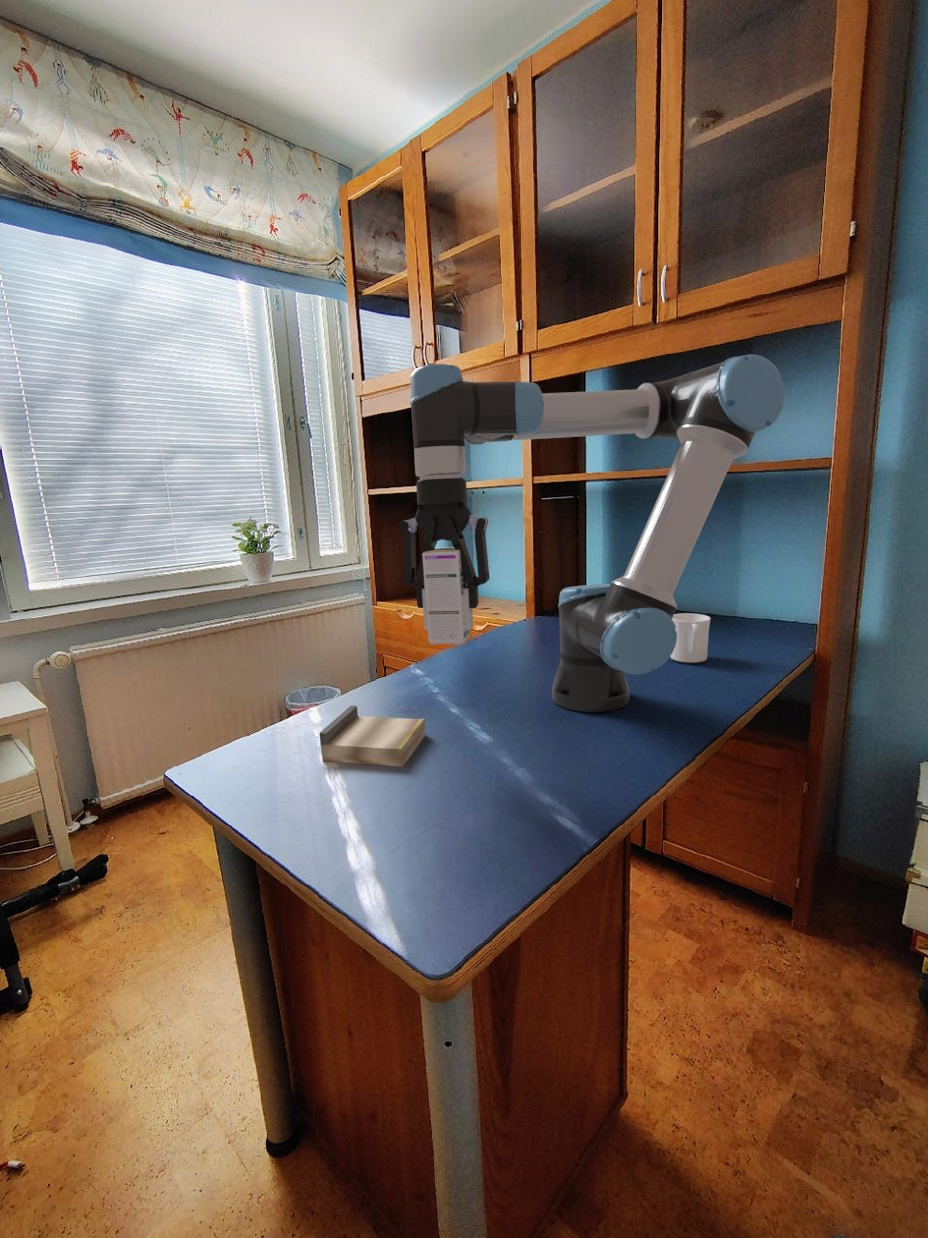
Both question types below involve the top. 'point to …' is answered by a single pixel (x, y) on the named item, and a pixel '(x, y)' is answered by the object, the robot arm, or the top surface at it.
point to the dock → (370, 739)
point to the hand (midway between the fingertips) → (448, 627)
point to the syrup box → (444, 596)
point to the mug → (691, 638)
